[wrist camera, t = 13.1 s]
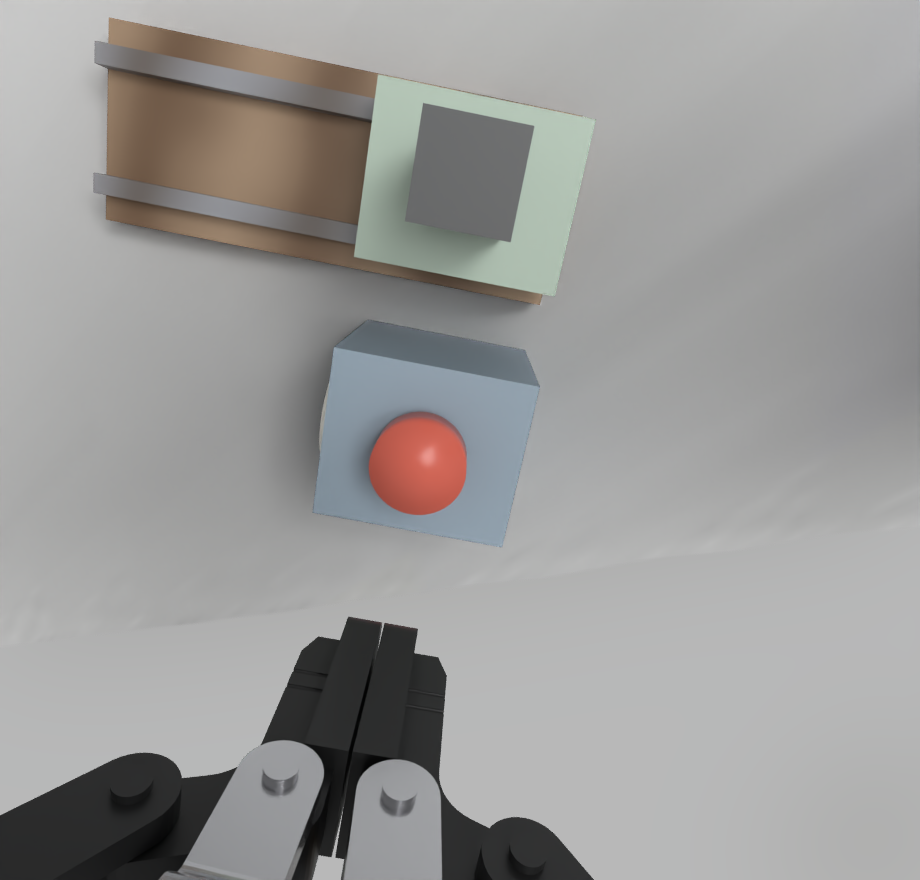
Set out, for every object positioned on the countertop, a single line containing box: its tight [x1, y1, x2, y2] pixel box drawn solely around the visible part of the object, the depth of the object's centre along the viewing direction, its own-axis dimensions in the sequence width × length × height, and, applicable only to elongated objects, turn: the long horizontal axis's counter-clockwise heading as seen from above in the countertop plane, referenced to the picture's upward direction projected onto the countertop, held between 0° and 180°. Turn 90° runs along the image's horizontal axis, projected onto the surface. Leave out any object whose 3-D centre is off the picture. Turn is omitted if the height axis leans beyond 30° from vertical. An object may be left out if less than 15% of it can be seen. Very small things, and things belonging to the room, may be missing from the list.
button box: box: [313, 320, 540, 547], centre depth 29 cm, size 8×7×8 cm
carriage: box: [354, 74, 596, 297], centre depth 22 cm, size 8×6×10 cm
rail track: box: [94, 18, 583, 305], centre depth 28 cm, size 20×8×3 cm, turn 79°
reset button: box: [369, 412, 467, 515], centre depth 24 cm, size 4×4×2 cm
